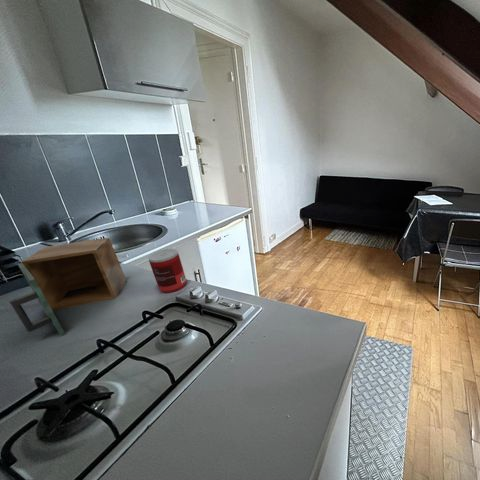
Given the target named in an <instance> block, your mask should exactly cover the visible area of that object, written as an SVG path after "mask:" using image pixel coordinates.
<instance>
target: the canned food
mask: <svg viewBox="0 0 480 480" xmlns="http://www.w3.org/2000/svg"><path fill="white" fill-rule="evenodd" d="M148 262H149V265H150V268H151V270H152V274H153V276H154V280H155V282H156V284H157V287H158V290H159V291H160V292H161V293H164V294H171V293H175V292H178V291H180V290H181V289H183V288H184V287H186V285H187V277H186V274H185V270H184V267H183V264H182V260H181V256H180V254H179V252H178V249H175V248H167V249H161V250H158V251H155V252H154V253H151V254H150V255H149V256H148Z"/></svg>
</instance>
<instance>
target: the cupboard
mask: <svg viewBox="0 0 480 480" xmlns="http://www.w3.org/2000/svg"><path fill="white" fill-rule="evenodd" d="M21 263H23V265H24V266H25V267H26V269H27V270H28V271H29V272H30V274H31V275H32V276H33V278H34V279H35V280H36V282H37V284H38V286H39V288H40V289H41V291H42V293H43V295H44V297H45V298H46V300H47V302H48V304H49V305H50V307H51V309H52V311H53V312H56V311H61V310H65V309H71V308H75V307H80V306H83V305H89V304H94V303H95V304H96V303H99V302H104V301H108V300H109V301H110V300H113V299H117V297H119V294H120V293H121V292H122V290H123V288H124V287H125V285H126V284H127V282H128V281H127V278H126V276H125V273H124V271H123V268H122V266H121V263H120V261H119V259H118V256H117V254H116V251H115V249H114V246H113V243H112V241H111V239H110V237H102V238H96V239H90V240H89V239H88V240H82V241H77V242H76V241H75V242H70V243H63V244H57V245H48V246H44V247H42V248H40V249H39V250H38V251H36V252H34V253H33V254H31V255H29V256H28V257H26V258H25V259H23V260H22V261H21ZM91 287H93V288H92V289H90V290H86V291H81V292H76V293H71V294H67V293H68V292H70V291H75V290H80V289H86V288H91Z"/></svg>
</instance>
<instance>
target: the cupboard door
mask: <svg viewBox="0 0 480 480" xmlns="http://www.w3.org/2000/svg"><path fill="white" fill-rule="evenodd" d="M17 266H18V267H19V269H20V271H21V273H22V275H23V277H24V278H25V280H26V281H27V284H28V285H29V287H30V289H31V291H32V292H31V293H28V294H25V295H23V296H20V297H17V298H14V299H11V300H9V302H8V303H9V304H10V306H11V307H12V309H13V310H14V313H15V314H16V316H17V318H18V319H19V321H21V323H22V325H23V327H24V328H25V330H26V331H27V332H28V333H29V332H32V331H34V330H37V329H39V328H42V327H44V326H47V325H48V324H52V326H53V327H54V328H55V329H56V331H57V333H58V334H59V335H60V337H62V336H65V335H66V332H65V330H64V328H63V327H62V325H61V323H60V322H59V320H58V318H57V315H55V312H54V311H52V309H51V307H50V305H49V304H48V302H47V300H46V298H45V297H44V295H43V293H42V291H41V289H40V288H39V286H38V284H37V282H36V280H35V279H34V278H33V276H32V275H31V274H30V272H29V271H28V270H27V269H26V267H25V266H24V265H23V263H22V262H20V263H17ZM36 299H37V301H38V303H39V304H40V306H41V308H42V309H43V311H44V313H45V315H46V317H43V318H41V319H39V320H37V321H34V322H32V321H31V319H30V317H29V316H28V314H27V313H26V310H25V309H24V308H23V306H22V305H23V304H26V303H28V302H31V301H34V300H36Z"/></svg>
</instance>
